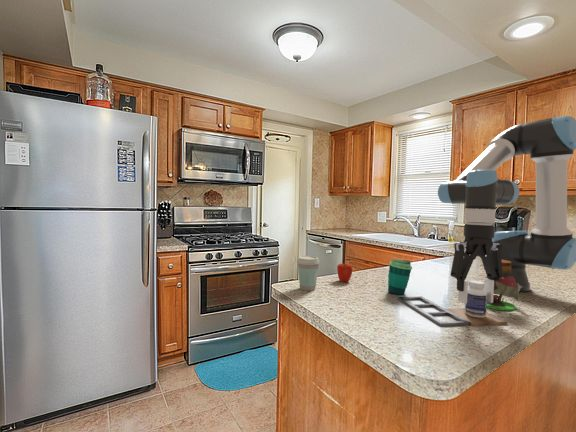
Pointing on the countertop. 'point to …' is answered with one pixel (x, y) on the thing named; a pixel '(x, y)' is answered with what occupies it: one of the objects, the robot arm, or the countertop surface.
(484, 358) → the countertop surface
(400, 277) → the cup
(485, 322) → the coaster
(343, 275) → the red bell pepper
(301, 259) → the coffee cup
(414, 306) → the gray rectangular frame
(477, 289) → the pill bottle
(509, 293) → the mushroom toy
